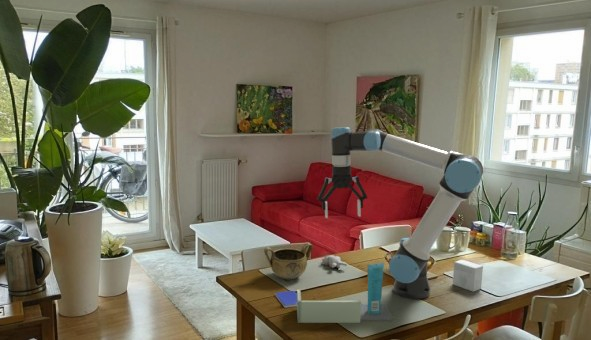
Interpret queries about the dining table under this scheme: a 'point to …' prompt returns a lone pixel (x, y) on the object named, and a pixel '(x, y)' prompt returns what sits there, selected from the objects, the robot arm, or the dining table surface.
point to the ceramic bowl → (289, 261)
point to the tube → (375, 287)
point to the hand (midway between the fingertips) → (342, 216)
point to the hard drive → (287, 298)
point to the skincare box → (467, 275)
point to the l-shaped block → (327, 311)
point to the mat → (382, 316)
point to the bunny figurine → (333, 261)
